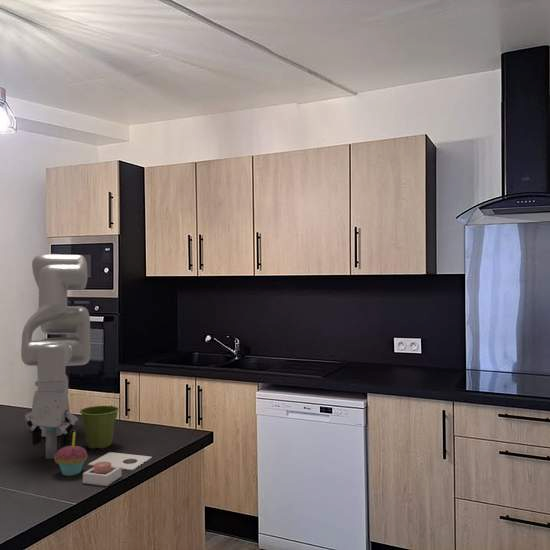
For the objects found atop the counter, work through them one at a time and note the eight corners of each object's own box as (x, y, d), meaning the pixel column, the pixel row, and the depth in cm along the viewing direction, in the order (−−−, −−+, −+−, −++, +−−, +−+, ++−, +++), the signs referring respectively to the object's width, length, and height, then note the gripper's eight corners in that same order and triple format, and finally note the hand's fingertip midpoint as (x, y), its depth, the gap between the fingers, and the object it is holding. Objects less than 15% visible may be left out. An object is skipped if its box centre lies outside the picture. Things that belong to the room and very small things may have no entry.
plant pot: (126, 441, 183) (126, 406, 183) (105, 453, 172) (106, 415, 171) (93, 438, 186) (93, 403, 186) (71, 449, 175) (71, 412, 175)
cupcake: (93, 472, 155) (93, 428, 155) (63, 481, 149) (64, 434, 149) (77, 465, 161) (77, 422, 161) (48, 472, 155) (48, 428, 155)
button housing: (82, 483, 148) (82, 473, 148) (98, 473, 155) (98, 464, 155) (106, 486, 146) (106, 476, 146) (121, 476, 153) (121, 467, 153)
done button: (90, 475, 149) (90, 466, 149) (99, 470, 153) (99, 460, 153) (105, 477, 147) (105, 468, 147) (114, 472, 152) (114, 462, 152)
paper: (88, 465, 161) (88, 463, 161) (109, 453, 172) (109, 451, 172) (132, 470, 157) (132, 469, 157) (151, 457, 168) (152, 456, 168)
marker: (43, 458, 166) (43, 420, 166) (50, 455, 169) (50, 418, 169) (52, 459, 165) (52, 421, 165) (59, 456, 168) (59, 418, 168)
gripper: (17, 386, 166) (17, 446, 166) (69, 390, 161) (68, 451, 161) (35, 382, 173) (34, 439, 173) (85, 385, 168) (84, 444, 168)
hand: (51, 445), depth 167 cm, fingers open, 9 cm apart
